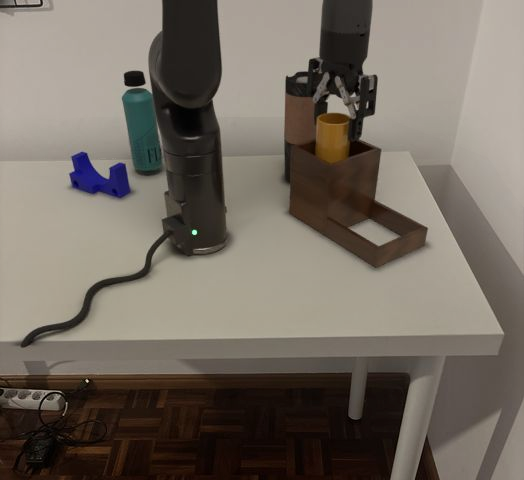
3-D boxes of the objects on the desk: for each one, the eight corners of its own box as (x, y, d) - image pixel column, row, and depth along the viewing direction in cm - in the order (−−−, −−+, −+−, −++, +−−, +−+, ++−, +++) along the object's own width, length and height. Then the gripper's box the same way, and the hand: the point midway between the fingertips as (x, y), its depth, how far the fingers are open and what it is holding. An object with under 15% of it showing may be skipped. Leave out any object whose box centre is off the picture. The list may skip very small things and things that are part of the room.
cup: (329, 180, 97) (332, 127, 91) (307, 168, 100) (310, 117, 94) (354, 171, 99) (359, 119, 93) (332, 160, 103) (336, 110, 97)
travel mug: (321, 186, 115) (327, 83, 101) (283, 187, 115) (285, 83, 102) (319, 170, 120) (324, 70, 107) (283, 171, 121) (284, 71, 107)
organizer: (376, 268, 92) (386, 194, 84) (289, 213, 107) (290, 145, 98) (424, 245, 97) (439, 174, 89) (335, 196, 112) (340, 130, 103)
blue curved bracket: (72, 187, 116) (65, 159, 112) (88, 179, 119) (81, 151, 115) (115, 201, 111) (109, 172, 107) (130, 192, 114) (125, 163, 110)
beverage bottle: (151, 180, 118) (135, 79, 105) (127, 173, 121) (109, 74, 107) (170, 169, 122) (157, 70, 109) (147, 162, 125) (132, 65, 112)
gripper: (297, 19, 87) (293, 125, 98) (359, 37, 79) (348, 151, 89) (333, 13, 91) (326, 116, 101) (397, 30, 82) (382, 140, 93)
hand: (336, 132), depth 95 cm, fingers open, 8 cm apart
